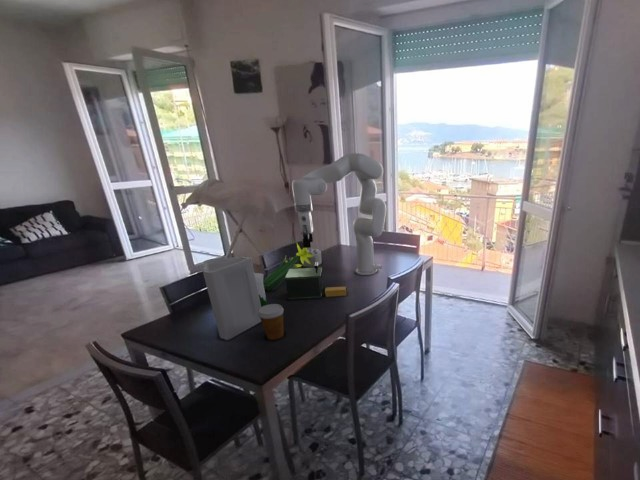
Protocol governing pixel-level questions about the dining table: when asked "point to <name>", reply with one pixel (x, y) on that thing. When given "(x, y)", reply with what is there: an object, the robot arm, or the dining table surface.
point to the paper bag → (232, 294)
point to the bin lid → (304, 272)
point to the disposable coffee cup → (272, 320)
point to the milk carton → (261, 289)
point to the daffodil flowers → (286, 268)
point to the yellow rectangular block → (335, 291)
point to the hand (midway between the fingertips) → (308, 244)
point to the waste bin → (304, 288)
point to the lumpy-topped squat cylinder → (313, 258)
